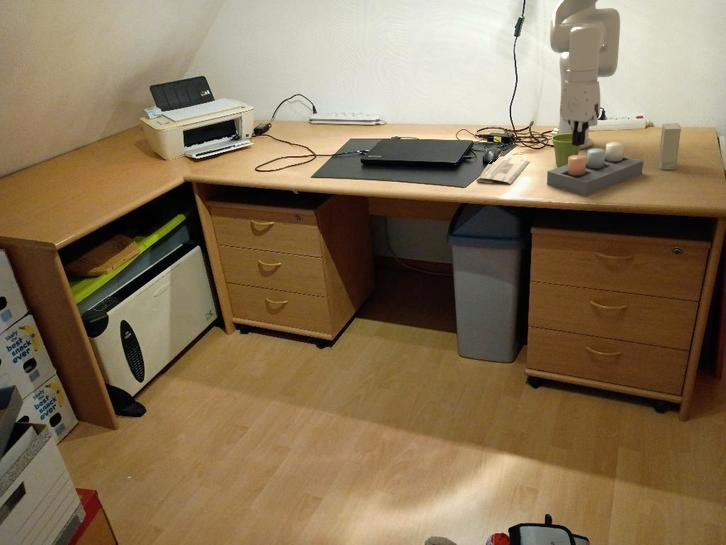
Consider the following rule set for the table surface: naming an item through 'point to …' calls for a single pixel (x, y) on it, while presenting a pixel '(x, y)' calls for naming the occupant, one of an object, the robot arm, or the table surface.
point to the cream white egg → (614, 151)
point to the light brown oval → (576, 165)
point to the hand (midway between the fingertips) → (578, 144)
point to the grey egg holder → (595, 176)
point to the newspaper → (503, 170)
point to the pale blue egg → (596, 158)
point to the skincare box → (669, 146)
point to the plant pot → (564, 148)
